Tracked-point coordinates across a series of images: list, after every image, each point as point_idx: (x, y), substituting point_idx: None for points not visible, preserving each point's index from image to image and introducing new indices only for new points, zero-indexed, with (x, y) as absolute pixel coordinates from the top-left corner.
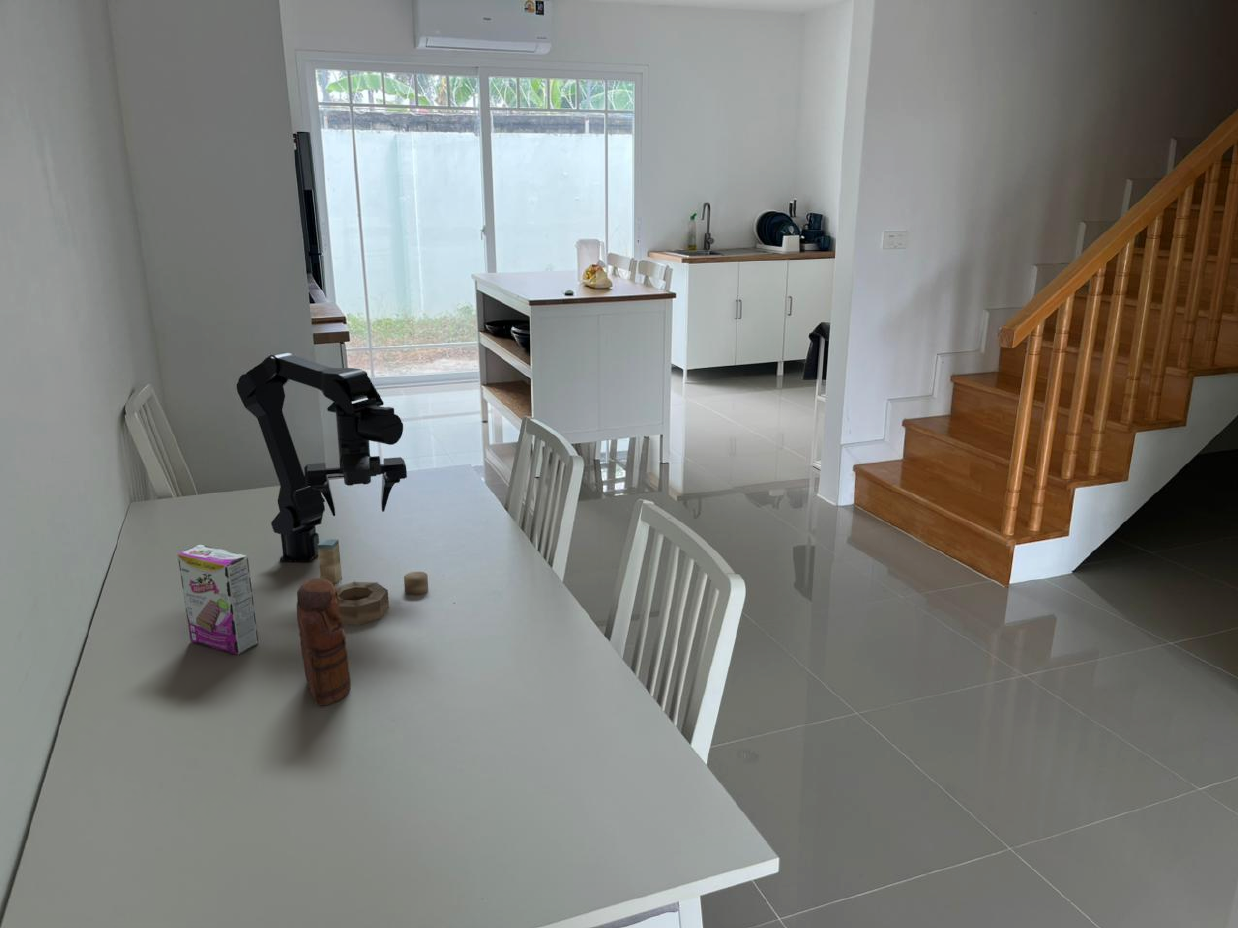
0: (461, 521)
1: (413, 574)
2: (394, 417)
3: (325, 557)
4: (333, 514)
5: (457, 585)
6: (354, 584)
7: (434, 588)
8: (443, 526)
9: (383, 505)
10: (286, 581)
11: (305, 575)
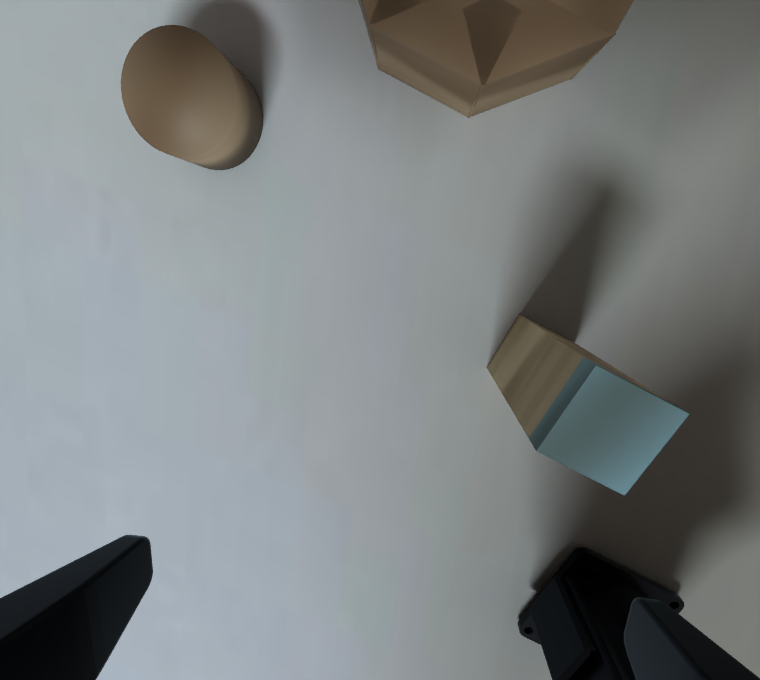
0: None
1: (186, 123)
2: None
3: (602, 363)
4: (667, 613)
5: (51, 106)
6: (489, 40)
7: None
8: None
9: (69, 579)
10: (700, 409)
11: None
